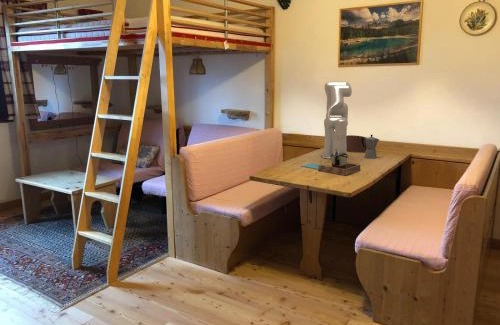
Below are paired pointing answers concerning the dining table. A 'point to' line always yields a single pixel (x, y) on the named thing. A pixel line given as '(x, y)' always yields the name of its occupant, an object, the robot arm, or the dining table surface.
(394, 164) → the dining table surface
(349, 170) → the frame
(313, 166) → the mat
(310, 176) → the dining table surface
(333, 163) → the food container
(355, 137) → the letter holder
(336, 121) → the robot arm
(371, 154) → the coffeepot
